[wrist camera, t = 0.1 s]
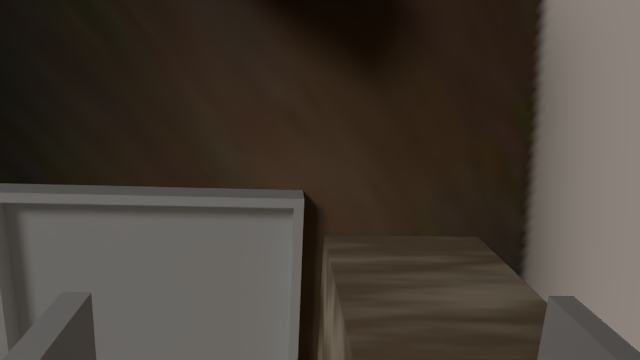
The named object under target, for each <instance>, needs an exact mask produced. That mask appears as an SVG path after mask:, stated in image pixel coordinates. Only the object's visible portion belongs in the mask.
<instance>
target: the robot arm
mask: <svg viewBox="0 0 640 360" xmlns="http://www.w3.org/2000/svg"><path fill="white" fill-rule="evenodd" d="M2 360H96V348H95V335H94V322H93V308H92V295H91V292H62V293H61V294H60V295H59V296H58V297H57V298H56V300H55V301H54V302H53V303H52V304H51V305H50V306H49V307H48V309H47V310H46V311H45V312H44V313H43V314H42V315H41V316H40V318H39V319H38V320H37V321H36V322H35V323H34V324H33V325H32V327H31V328H30V329H29V330H28V331H27V332H26V333H25V335H24V336H23V337H22V338H21V339H20V340H19V341H18V342H17V344H16V345H15V346H14V347H13V348H12V349H11V350H10V351H9V353H8V354H7V355H6V356H5V357H4V358H3V359H2ZM537 360H640V353H639V352H638V351H637V350H636V349H635V348H634V347H632V346H631V345H630V344H629V343H627V341H625V340H624V339H623V338H622V337H620V336H619V335H618V334H617V333H616V332H615V331H613V330H612V329H611V328H610V327H609V326H608V325H607V324H605V323H604V322H603V321H602V320H601V319H599V318H598V317H597V316H596V315H595V314H594V313H592V312H591V311H590V310H589V309H588V308H586V307H585V306H584V305H583V304H582V303H581V302H579V301H578V300H577V299H576V298H575V297H573V296H549V299H548V304H547V309H546V314H545V320H544V325H543V330H542V336H541V341H540V346H539V352H538V357H537Z"/></svg>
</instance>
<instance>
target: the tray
mask: <svg viewBox="0 0 640 360" xmlns="http://www.w3.org/2000/svg"><path fill="white" fill-rule="evenodd" d="M303 219H304V194H303V190H266V189H222V188H178V187H134V186H90V185H46V184H2V183H0V360H2V359H3V358H4V357H5V356H6V355H7V354H8V353H9V351H10V350H11V349H12V348H13V347H14V346H15V345H16V344H17V342H18V341H19V340H20V339H21V338H22V337H23V336H24V335H25V333H26V332H27V331H28V330H29V329H30V328H31V327H32V325H33V324H34V323H35V322H36V321H37V320H38V319H39V318H40V316H41V315H42V314H43V313H44V312H45V311H46V310H47V309H48V307H49V306H50V305H51V304H52V303H53V302H54V301H55V300H56V298H57V297H58V296H59V295H60V294H61V293H62V292H91V295H92V308H93V322H94V335H95V348H96V360H298V343H299V318H300V293H301V268H302V243H303Z"/></svg>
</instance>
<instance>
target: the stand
mask: <svg viewBox="0 0 640 360" xmlns="http://www.w3.org/2000/svg"><path fill="white" fill-rule="evenodd" d="M546 309H547V303H546V302H545V301H544V300H543V299H542V298H541V297H540V296H539V295H538V294H537V293H536V292H535V291H534V290H533V289H532V288H531V287H530V286H529V285H528V284H527V283H526V282H524V281H523V280H522V279H521V278H520V277H519V276H518V275H517V274H516V273H515V272H514V271H513V270H512V269H511V268H510V267H509V266H508V265H507V264H506V263H505V262H504V261H503V260H502V259H501V258H500V257H498V256H497V255H496V254H495V253H494V252H493V251H492V250H491V249H490V248H489V247H488V246H487V245H486V244H485V243H484V242H483V241H482V240H481V239H480V238H479V237H455V236H388V235H324V242H323V261H322V281H321V300H320V319H319V338H318V358H317V360H537V357H538V352H539V346H540V341H541V336H542V330H543V325H544V320H545V314H546Z"/></svg>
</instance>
